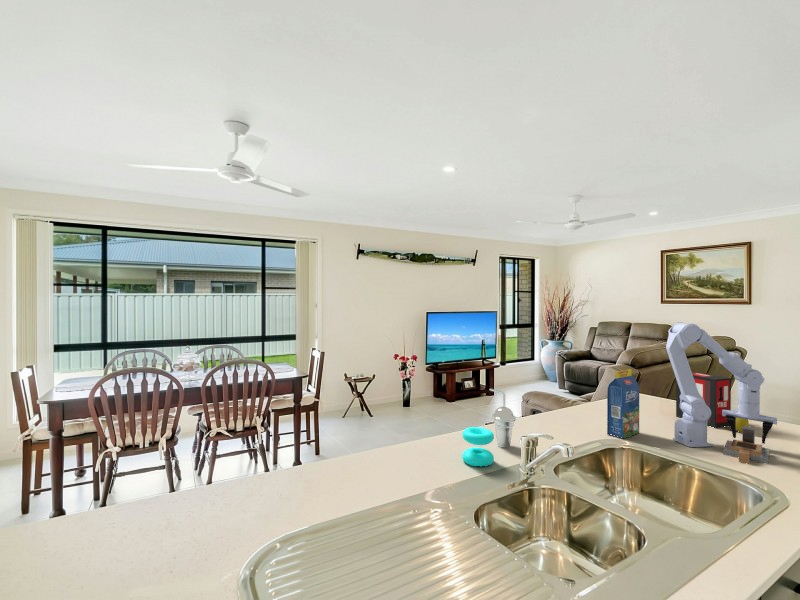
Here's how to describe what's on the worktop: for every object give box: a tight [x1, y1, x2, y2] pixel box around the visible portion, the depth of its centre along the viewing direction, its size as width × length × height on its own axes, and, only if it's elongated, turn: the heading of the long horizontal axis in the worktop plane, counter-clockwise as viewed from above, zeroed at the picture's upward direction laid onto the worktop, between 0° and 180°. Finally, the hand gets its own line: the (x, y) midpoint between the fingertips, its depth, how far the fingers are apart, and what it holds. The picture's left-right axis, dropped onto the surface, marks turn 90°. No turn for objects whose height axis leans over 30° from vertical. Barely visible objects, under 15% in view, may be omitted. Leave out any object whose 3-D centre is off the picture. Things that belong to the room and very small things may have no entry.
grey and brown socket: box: [723, 438, 770, 465], centre depth 131 cm, size 16×11×3 cm
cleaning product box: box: [675, 370, 732, 429], centre depth 169 cm, size 16×9×20 cm, turn 17°
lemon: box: [736, 418, 750, 433], centre depth 155 cm, size 6×6×8 cm
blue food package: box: [606, 368, 640, 439], centre depth 152 cm, size 6×12×25 cm, turn 123°
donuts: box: [461, 426, 495, 468], centre depth 126 cm, size 10×10×10 cm
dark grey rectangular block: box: [741, 426, 756, 444], centre depth 139 cm, size 4×3×7 cm
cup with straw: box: [489, 388, 517, 448], centre depth 140 cm, size 8×9×20 cm
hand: (748, 439), depth 139 cm, fingers open, 7 cm apart
